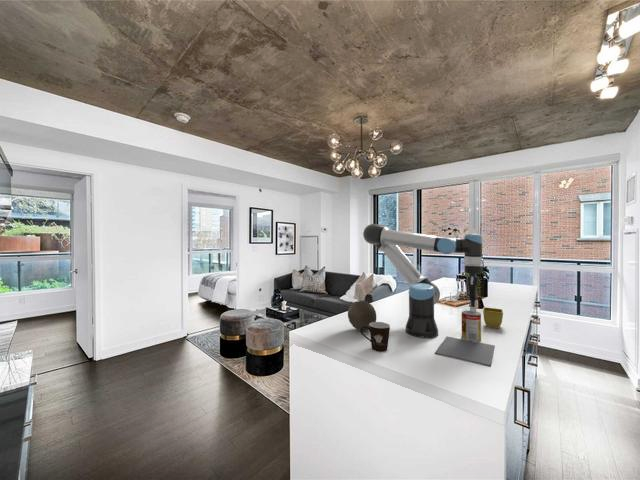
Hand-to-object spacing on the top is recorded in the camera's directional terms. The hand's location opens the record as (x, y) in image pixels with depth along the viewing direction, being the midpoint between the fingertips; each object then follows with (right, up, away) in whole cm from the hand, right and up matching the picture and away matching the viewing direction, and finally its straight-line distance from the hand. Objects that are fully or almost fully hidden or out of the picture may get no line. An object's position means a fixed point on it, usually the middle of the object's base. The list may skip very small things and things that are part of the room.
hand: (473, 313), depth 133 cm
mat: (-15, -10, -21) cm, 28 cm away
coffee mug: (-52, -10, -19) cm, 56 cm away
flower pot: (+16, -10, +10) cm, 21 cm away
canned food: (-5, -10, -8) cm, 14 cm away
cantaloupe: (-54, -10, +3) cm, 55 cm away
